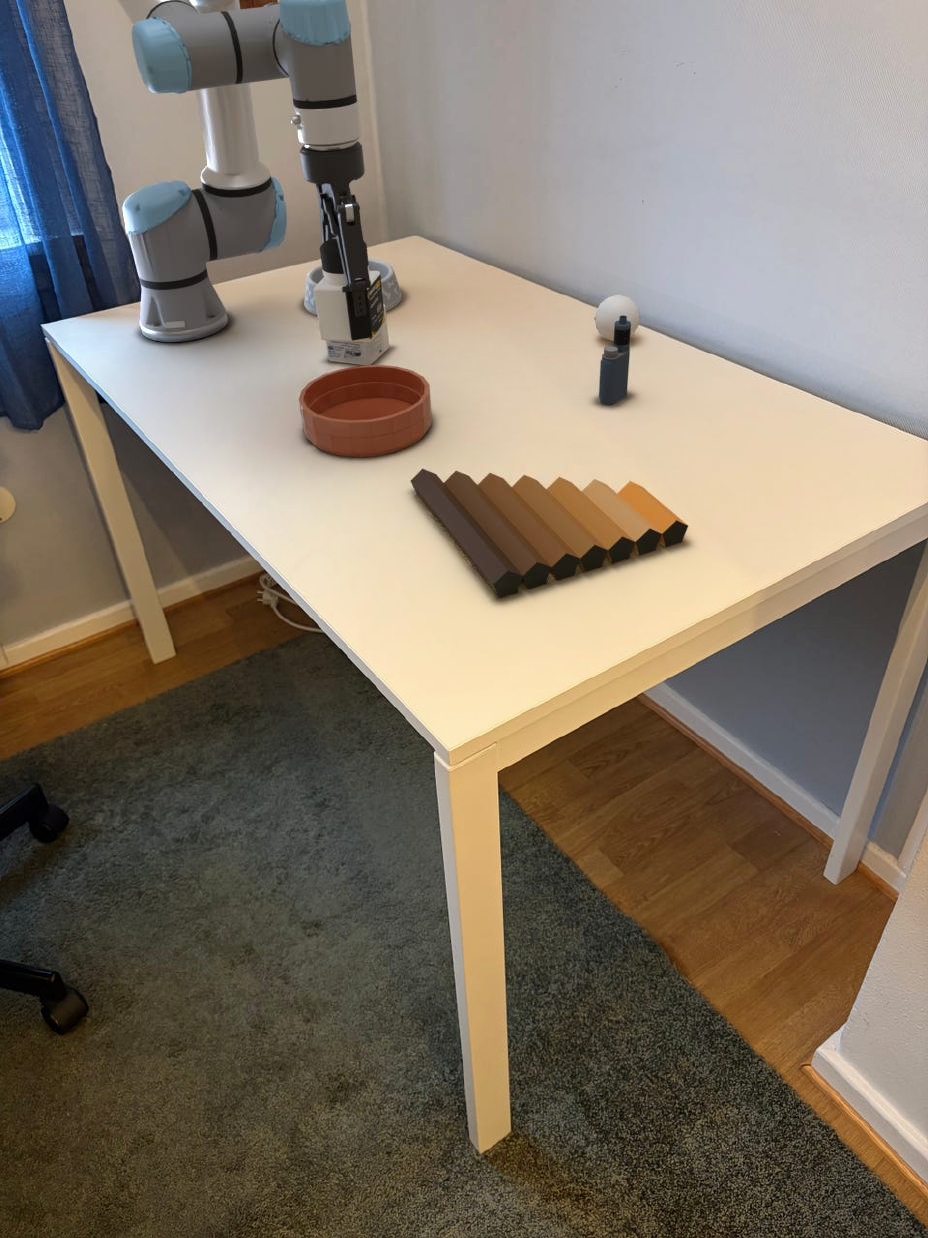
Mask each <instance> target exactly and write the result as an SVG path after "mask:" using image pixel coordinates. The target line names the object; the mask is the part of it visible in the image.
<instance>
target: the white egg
mask: <svg viewBox="0 0 928 1238" xmlns="http://www.w3.org/2000/svg"><path fill="white" fill-rule="evenodd" d="M593 307H594V308H597V309H596V311H595V316H594V319H593V320H594V321H595V328H596V330H597V332H598V334H599V335H600V336H602V337H603V338H604V339H606V340H607V341H611V342H614V328H615V327H614V325H615V322H616V321H619V317H620V316H623V315H624V316H627V321H629V322H631V333H630V337H632V336H633V335H634V334H635V333H636V331H637V330H638V327H639V326H640V322H641V321H640V320H641V315H640V309H639V308H638V305H637V303H636V302H635V301H634V300H633V299H631V297H629V296H625V295H624V294H614V295H611V296H609V297H606V298H605V299H604V300H603V301H601V302H600V304H599V306H595V305H593Z"/></svg>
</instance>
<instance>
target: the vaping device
mask: <svg viewBox="0 0 928 1238" xmlns="http://www.w3.org/2000/svg"><path fill="white" fill-rule="evenodd" d="M614 327H615V328H614V341H613V345H608V346H605V347H604V348H603V353H602V355H601V359H600V362H599V363H600V364H599V367H600V368H599V385H598V386H599V387H598V398H599V403H600V404H602V405H605V406H612V405H614V404H616V403H618V402H619V401H621V400H623V399H624V398H626V397H627V396H628V385H629V371H630V357H631V356H630V354H631V336H630V333H631V322H629V321H627V316H624V315H623V316H620V317H619V321H616V322H615V325H614Z"/></svg>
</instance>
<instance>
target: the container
mask: <svg viewBox="0 0 928 1238" xmlns="http://www.w3.org/2000/svg"><path fill="white" fill-rule="evenodd" d="M383 305H384V315H385V323H384V324H383V326H382V327H381V328H380V330H379V331H378V333H377V334H376V335H375V337H374V338H373V340H372V341H371V342H355V341H327V340H325V346H326V350H327V352H326V353H327V359H328V361H329V362H335V363H344V364H352V365H357V366H366V365H373V363H374V362H375V361H377V360H378V359H379V358H380V357H381V356H382V355H383V354H384V353H385V352H386V351H387V350H389V349H390V340H389V330H388V320H387V311H386V310H385V304H383Z"/></svg>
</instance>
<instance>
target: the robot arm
mask: <svg viewBox="0 0 928 1238" xmlns="http://www.w3.org/2000/svg"><path fill="white" fill-rule="evenodd" d="M117 2H118V3H119V5H120V7H121V8H122V10H123V11H124V13H125V14H126V16H127V18H128V19H129V21H130V22H131V24H132V27H131V40H132V48H133V53H134V57H135V61H136V65H137V69H138V71H139V74H140V76H141V80H142V82H143V84H144V86H145V87H146V88H147V90H148V91H150V92H151V93H153V94H157V95H158V94H170V93H172V94H173V93H175V94H185V93H187V92H193V91H195V95H196V101H197V107H198V113H199V119H200V125H201V130H202V131H201V132H202V137H203V143H204V144H203V145H204V150H205V154H206V161H207V165H205V167H204V168H203V170H201V173H200V181H201V187H199V188H193V189H192V188H191V187H190V185H189V183H188V182H187V181H183V180H172V181H163V182H158V183H154V184H151V185H148V186H145V187H142V188H140V189H138V190H137V191H134V192H133V193H131V194H130V195H129V196H127V197H126V198H125V200H124V202H123V204H122V213H123V214H122V215H123V219H124V224H125V229H124V230H125V233H126V234H127V235H128V239H129V243H130V246H131V251H132V255H133V259H134V263H135V267H136V272H137V275H138V276H137V277H138V279H139V283H140V288H141V295H140V309H139V311H140V312H139V326H140V329H141V333H142V335H143V336H144V337H145V338H147V339H149V340H151V341H155V342H163V343H178V342H179V343H181V342H187V341H194V340H199V339H203V338H206V337H210V336H211V335H214V334H216V333H217V332H219V331H221V330H222V329H224V328H225V327H227V324H228V322H229V318H228V313H227V308H226V307H225V305H224V304H223V301H222V300H221V298H220V296H219V294H218V292H217V291H216V289H215V287H214V286H213V284H212V281H211V280H210V277H209V273H208V269H207V263H209V262H214V261H219V260H226V259H230V258H236V257H241V256H246V255H253V254H257V255H259V254H261V253H263V252H264V251H265V252H266V251H268V250H273V249H276V248H278V247H279V246H281V244H282V242H283V241H284V240H285V237H286V232H287V226H288V225H287V224H288V223H287V222H288V214H287V204H286V201H285V194H284V190H283V188H282V185H281V183H280V182H279V179H277V178H276V177H275V176H272V175H271V170H270V169H269V167H267V166H266V165H265V164H264V163H263V162H262V161H261V160H260V154H259V153H260V152H259V145H258V136H257V129H256V120H255V115H254V113H255V112H254V106H253V105H254V104H253V97H252V89H251V83H258V82H266V81H275V80H281V79H282V80H283V79H289V83H290V90H291V97H292V104H293V108H294V112H295V115H292V116H290V123H291V125H292V126H296V130H297V138H298V141H299V143H301V144H302V146H301V148H300V150H299V154H300V161H301V162H300V163H301V169H302V175H303V178H304V180H305V181H306V182H308V183H310V184H314V185H315V188H316V191H317V198H318V207H319V209H318V210H319V218H320V231H321V241H322V242H321V243H324V242H325V241H327V240H329V239H331V238H335V237H336V238H337V242H338V247H339V252H340V257H341V261H342V266H343V271H344V276H345V280H346V286H344V287H342V288H341V290H342V292H343V293H344V292H345V294H346V302H347V310H348V318H349V326H350V333H351V339H352V341H354V340H360V339H366V338H372V328H371V319H370V310H369V301H368V292H367V288H370V287H371V281H370V278H369V272H368V265H367V259H366V253H365V247H364V242H365V240H364V234H363V229H362V221H361V212H360V211H361V206H360V204H359V202H358V201H357V197H356V195H355V194H352V191H351V188H350V184H351V183H352V182H353V181H357V180H360V179H361V178H362V177H364V175H365V171H366V169H365V160H364V152H363V151H364V150H363V145H362V144H361V142H360V141H358V140H359V139H360V138H361V137H362V128H361V118H360V108H359V100H358V96H357V86H356V75H355V65H354V55H353V44H352V35H351V34H352V24H351V20H350V18H349V11H348V5H347V0H279V2H269V3H268V4H265V5H262V6H260V7H259V6H258V7H249V8H242V9H241V3H240V0H117ZM358 278H361V279H358ZM355 279H358V280H355Z"/></svg>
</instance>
